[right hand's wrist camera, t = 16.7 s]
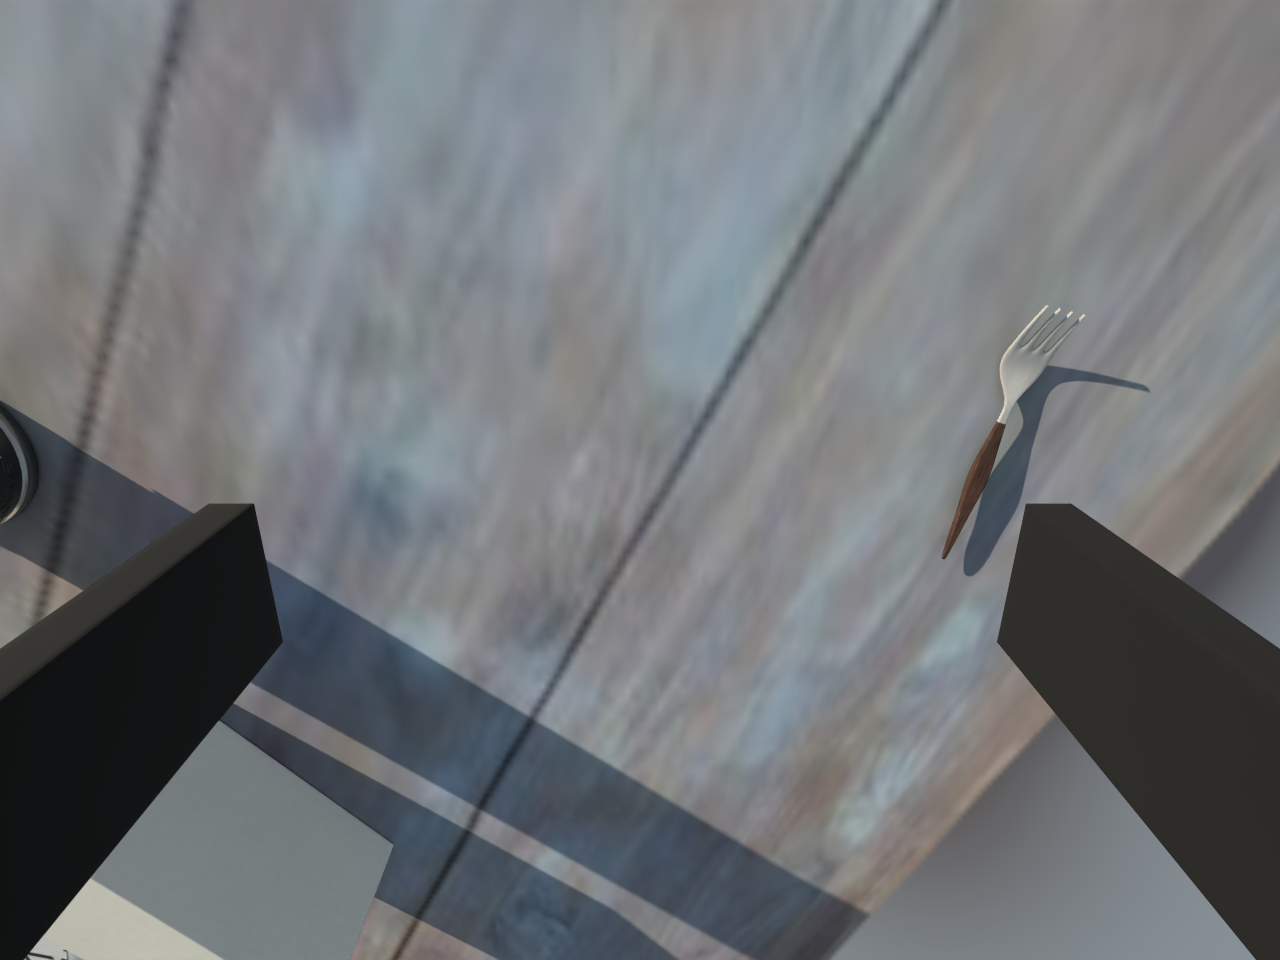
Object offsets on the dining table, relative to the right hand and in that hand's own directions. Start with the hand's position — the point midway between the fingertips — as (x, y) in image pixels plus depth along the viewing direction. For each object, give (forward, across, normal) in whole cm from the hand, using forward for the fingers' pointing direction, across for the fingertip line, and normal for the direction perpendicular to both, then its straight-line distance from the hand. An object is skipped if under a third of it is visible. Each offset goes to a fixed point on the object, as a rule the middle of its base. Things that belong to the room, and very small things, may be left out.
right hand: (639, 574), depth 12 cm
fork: (+30, +21, -7) cm, 37 cm away
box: (+30, -30, -32) cm, 53 cm away
